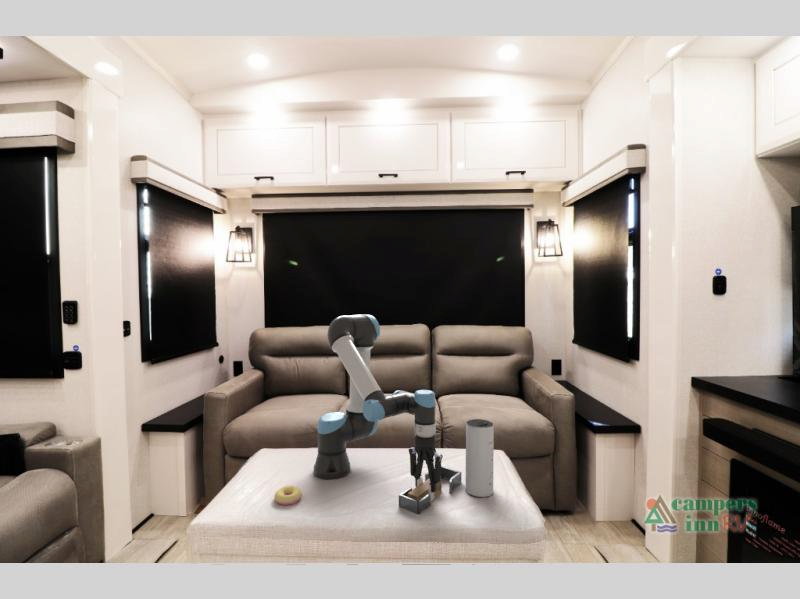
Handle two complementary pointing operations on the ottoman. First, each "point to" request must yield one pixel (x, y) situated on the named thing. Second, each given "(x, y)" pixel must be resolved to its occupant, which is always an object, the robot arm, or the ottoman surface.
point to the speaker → (479, 457)
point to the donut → (288, 495)
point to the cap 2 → (449, 477)
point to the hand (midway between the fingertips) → (425, 498)
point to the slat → (424, 490)
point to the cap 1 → (413, 502)
